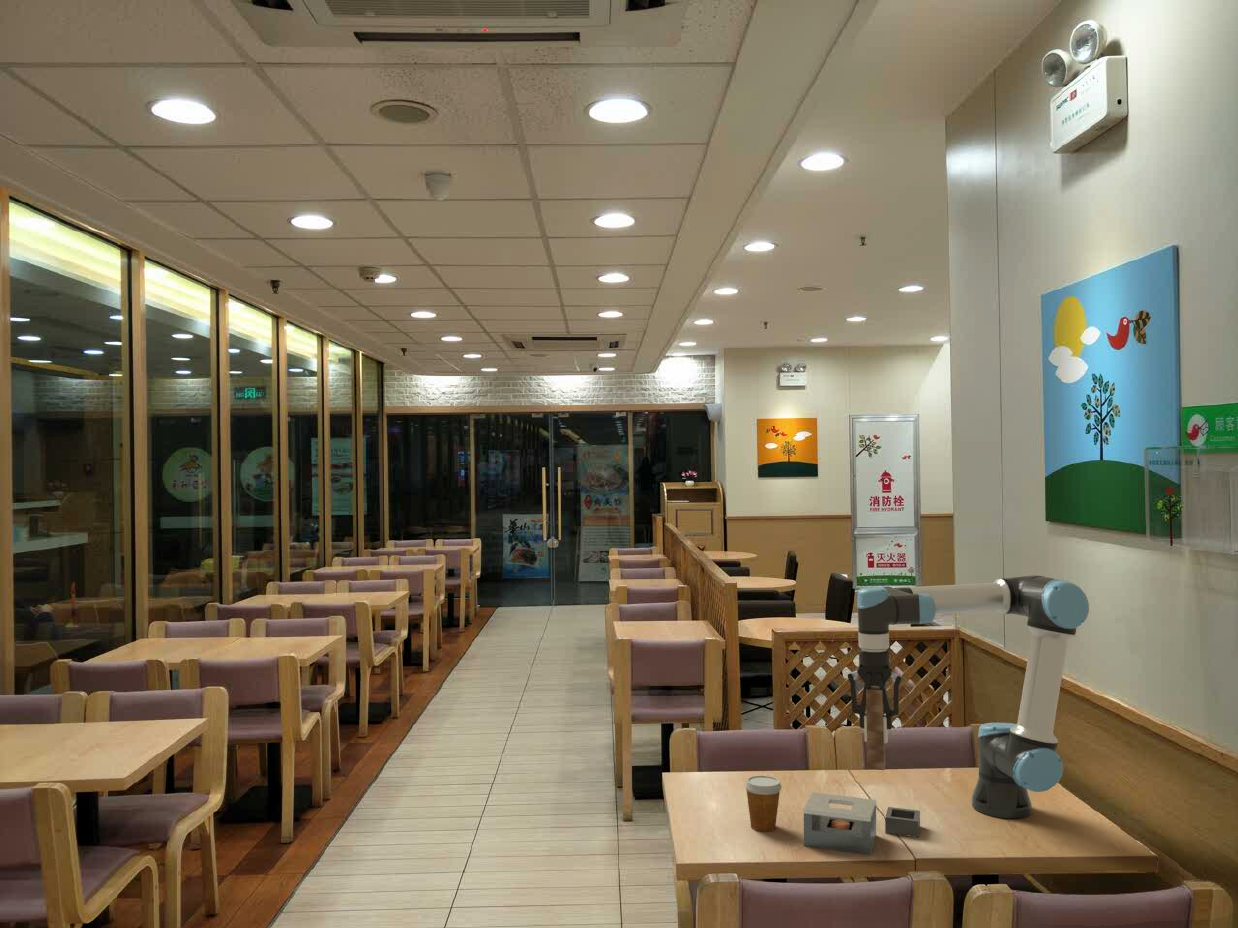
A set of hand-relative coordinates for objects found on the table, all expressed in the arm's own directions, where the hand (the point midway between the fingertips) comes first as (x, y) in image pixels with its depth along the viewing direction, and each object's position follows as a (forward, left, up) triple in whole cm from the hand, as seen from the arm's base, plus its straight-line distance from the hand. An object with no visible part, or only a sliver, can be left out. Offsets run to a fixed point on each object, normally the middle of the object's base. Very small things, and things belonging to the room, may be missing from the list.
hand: (876, 740), depth 241 cm
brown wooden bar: (0, 0, -7) cm, 7 cm away
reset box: (+8, +7, -24) cm, 26 cm away
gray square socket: (-6, -6, -24) cm, 25 cm away
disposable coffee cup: (+28, +5, -24) cm, 37 cm away
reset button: (+8, +7, -23) cm, 26 cm away
